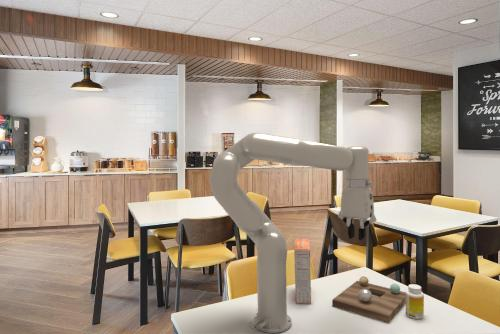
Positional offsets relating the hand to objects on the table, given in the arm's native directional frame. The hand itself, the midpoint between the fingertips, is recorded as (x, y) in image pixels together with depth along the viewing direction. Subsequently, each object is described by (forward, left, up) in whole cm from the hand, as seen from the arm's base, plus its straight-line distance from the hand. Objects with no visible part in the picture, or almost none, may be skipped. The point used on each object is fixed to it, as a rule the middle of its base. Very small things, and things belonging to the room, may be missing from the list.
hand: (356, 238), depth 119 cm
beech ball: (+21, +6, -23) cm, 32 cm away
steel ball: (+8, 0, -22) cm, 24 cm away
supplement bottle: (+13, -15, -27) cm, 34 cm away
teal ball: (+21, -6, -23) cm, 32 cm away
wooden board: (+13, 0, -27) cm, 30 cm away
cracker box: (+3, +23, -27) cm, 36 cm away
